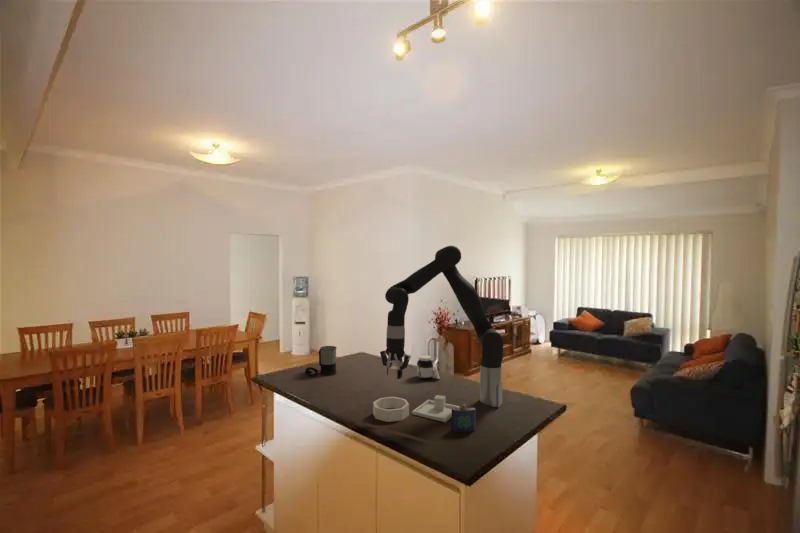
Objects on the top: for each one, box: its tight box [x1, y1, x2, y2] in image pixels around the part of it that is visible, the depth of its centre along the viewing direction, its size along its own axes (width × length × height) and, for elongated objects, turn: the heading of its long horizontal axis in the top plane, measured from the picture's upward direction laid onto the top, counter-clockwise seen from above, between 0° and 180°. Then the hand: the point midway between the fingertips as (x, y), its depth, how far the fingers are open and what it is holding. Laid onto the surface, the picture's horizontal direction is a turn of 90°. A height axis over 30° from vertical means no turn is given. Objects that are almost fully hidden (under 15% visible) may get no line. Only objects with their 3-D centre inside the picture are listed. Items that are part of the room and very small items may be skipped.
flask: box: [451, 403, 477, 433], centre depth 139 cm, size 9×3×11 cm, turn 95°
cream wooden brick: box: [387, 365, 402, 383], centre depth 153 cm, size 4×4×5 cm
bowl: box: [372, 396, 410, 423], centre depth 154 cm, size 14×14×5 cm
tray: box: [411, 399, 461, 423], centre depth 156 cm, size 15×15×2 cm
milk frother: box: [304, 345, 337, 377], centre depth 210 cm, size 14×16×15 cm
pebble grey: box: [433, 394, 447, 411], centre depth 159 cm, size 4×4×5 cm
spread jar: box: [416, 354, 440, 381], centre depth 204 cm, size 12×11×12 cm
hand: (394, 377), depth 153 cm, fingers closed on cream wooden brick, 4 cm apart
